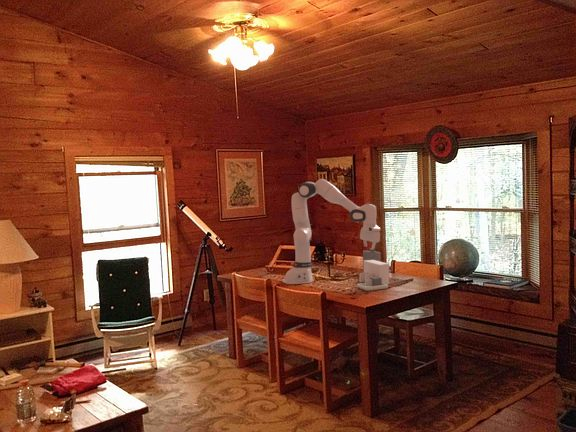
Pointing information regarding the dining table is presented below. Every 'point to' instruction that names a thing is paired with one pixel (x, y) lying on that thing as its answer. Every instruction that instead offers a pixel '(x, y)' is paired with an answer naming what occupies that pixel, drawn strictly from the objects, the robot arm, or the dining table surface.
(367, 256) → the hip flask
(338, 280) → the dining table surface
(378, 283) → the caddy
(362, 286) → the sage tray
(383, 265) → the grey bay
